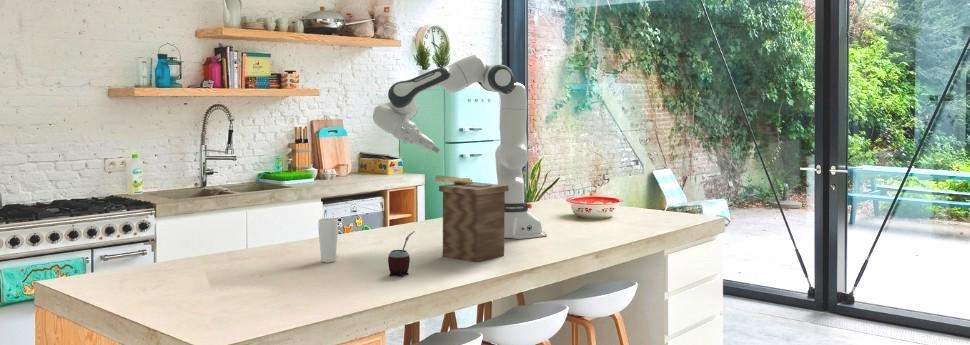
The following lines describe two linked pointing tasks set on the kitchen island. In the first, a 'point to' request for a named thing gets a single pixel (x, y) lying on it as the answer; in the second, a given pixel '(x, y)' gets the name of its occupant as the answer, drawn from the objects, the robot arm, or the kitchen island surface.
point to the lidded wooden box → (473, 221)
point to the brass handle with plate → (459, 181)
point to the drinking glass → (328, 239)
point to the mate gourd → (399, 261)
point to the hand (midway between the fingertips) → (435, 149)
